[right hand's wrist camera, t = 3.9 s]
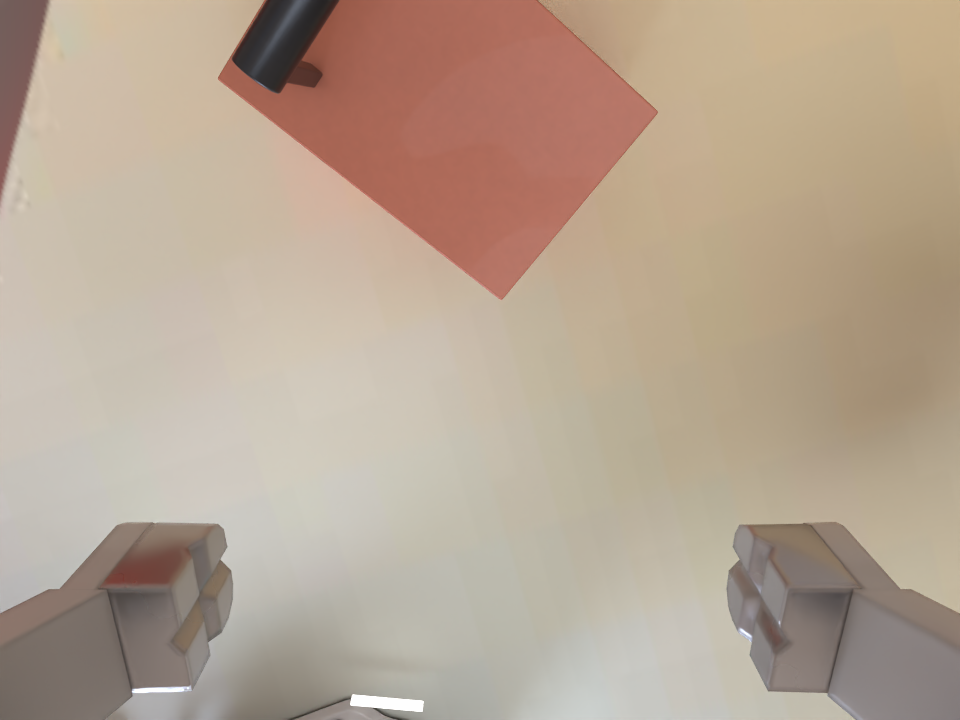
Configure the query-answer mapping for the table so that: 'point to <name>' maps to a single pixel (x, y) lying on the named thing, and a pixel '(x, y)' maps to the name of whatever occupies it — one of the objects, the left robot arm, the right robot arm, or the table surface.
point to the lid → (446, 115)
